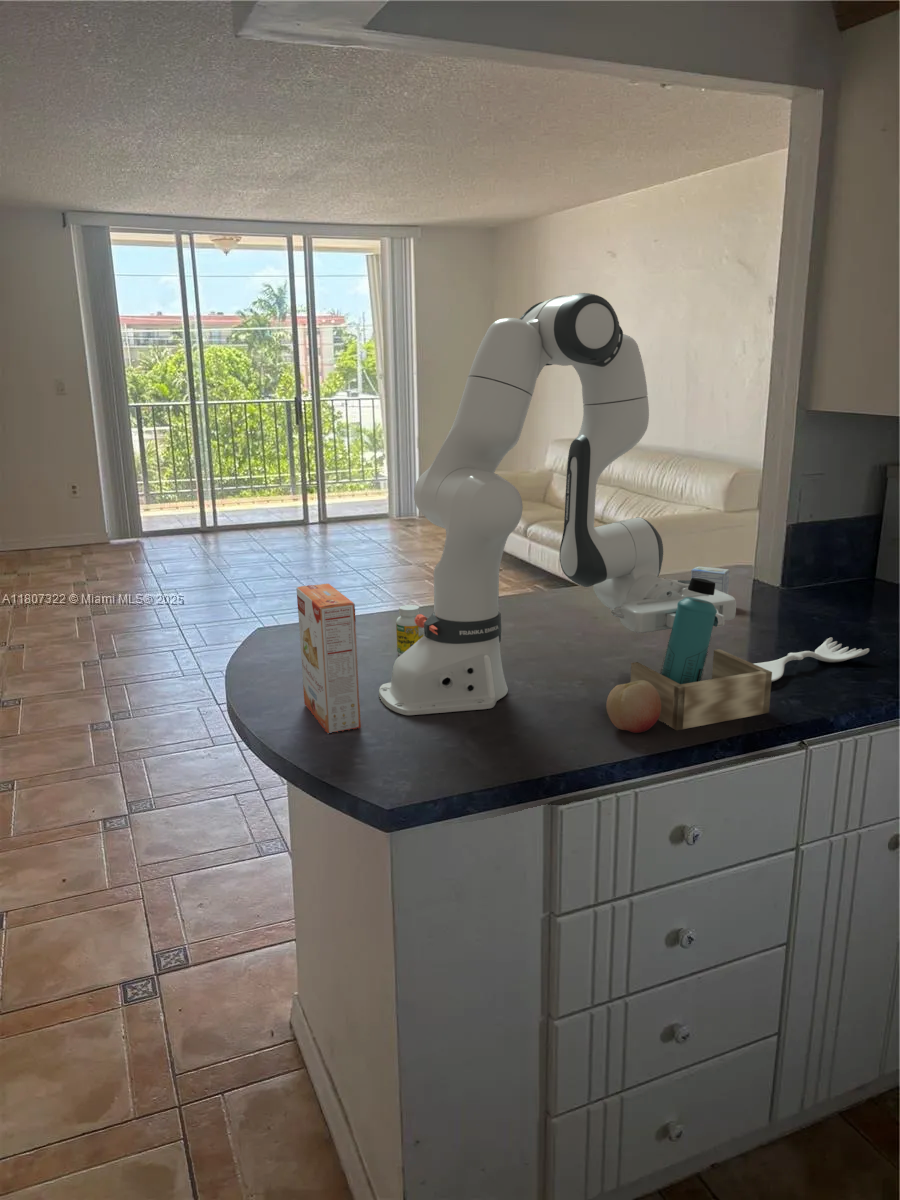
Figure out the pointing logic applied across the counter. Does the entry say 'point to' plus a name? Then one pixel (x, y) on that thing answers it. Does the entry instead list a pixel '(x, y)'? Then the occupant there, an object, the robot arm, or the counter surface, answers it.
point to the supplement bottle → (407, 628)
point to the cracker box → (329, 656)
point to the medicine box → (713, 576)
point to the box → (711, 693)
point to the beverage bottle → (690, 635)
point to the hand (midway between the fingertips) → (707, 623)
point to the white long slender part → (821, 653)
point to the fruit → (634, 706)
